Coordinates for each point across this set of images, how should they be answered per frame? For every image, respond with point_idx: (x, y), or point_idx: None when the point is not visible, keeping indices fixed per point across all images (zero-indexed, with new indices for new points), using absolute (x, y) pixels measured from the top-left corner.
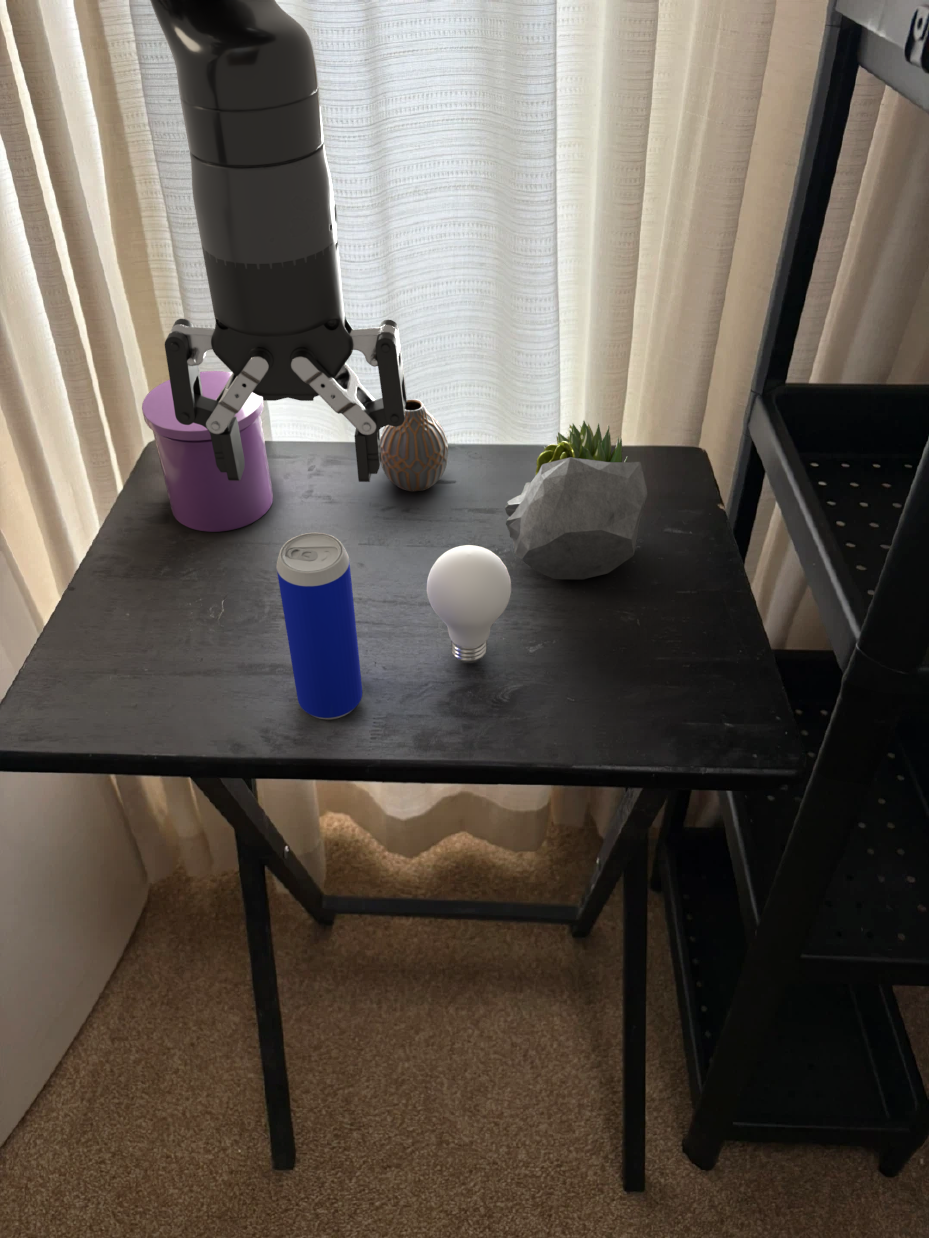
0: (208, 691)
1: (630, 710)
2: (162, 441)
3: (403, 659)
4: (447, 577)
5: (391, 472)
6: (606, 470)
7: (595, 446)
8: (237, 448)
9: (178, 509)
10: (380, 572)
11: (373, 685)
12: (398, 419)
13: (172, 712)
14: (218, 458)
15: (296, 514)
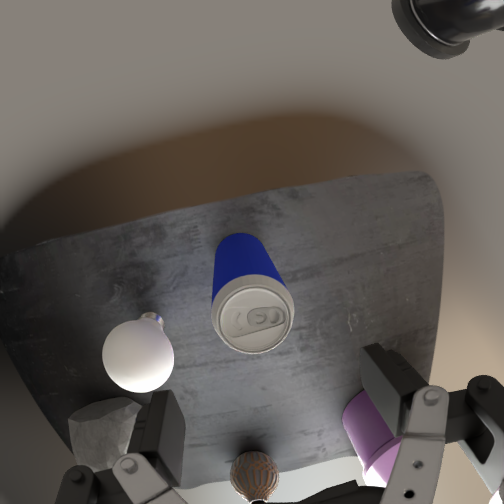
0: (333, 243)
1: (44, 292)
2: None
3: (199, 309)
4: (142, 352)
5: (264, 459)
6: (87, 465)
7: None
8: (379, 390)
9: None
10: (247, 385)
11: None
12: (70, 474)
13: (351, 217)
14: (402, 363)
15: (323, 416)
